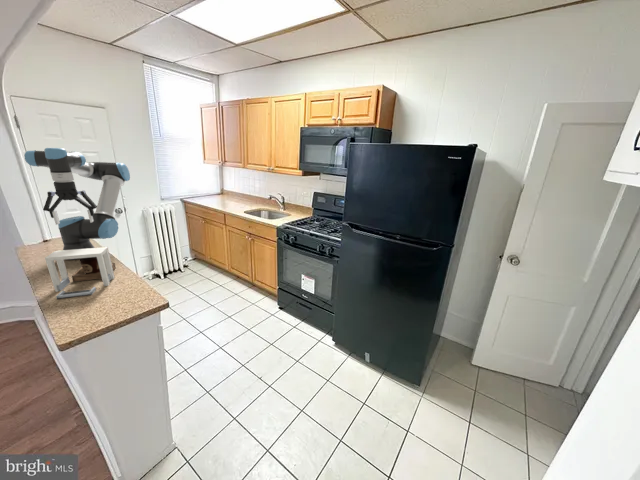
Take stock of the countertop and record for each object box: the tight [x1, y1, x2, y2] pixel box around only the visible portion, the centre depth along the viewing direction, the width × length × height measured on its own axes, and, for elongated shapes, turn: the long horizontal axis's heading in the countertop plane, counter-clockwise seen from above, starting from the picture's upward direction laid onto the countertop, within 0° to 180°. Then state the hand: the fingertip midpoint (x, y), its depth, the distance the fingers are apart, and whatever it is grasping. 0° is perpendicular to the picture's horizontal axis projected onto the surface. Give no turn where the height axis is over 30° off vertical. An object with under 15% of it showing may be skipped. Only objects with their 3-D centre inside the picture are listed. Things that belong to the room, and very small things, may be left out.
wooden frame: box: [71, 246, 116, 283], centre depth 136 cm, size 20×14×10 cm, turn 22°
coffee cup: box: [77, 257, 100, 274], centre depth 130 cm, size 9×8×13 cm
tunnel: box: [44, 246, 115, 292], centre depth 122 cm, size 9×20×16 cm, turn 111°
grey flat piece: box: [55, 286, 97, 300], centre depth 115 cm, size 5×12×1 cm, turn 112°
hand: (75, 222), depth 135 cm, fingers open, 13 cm apart
